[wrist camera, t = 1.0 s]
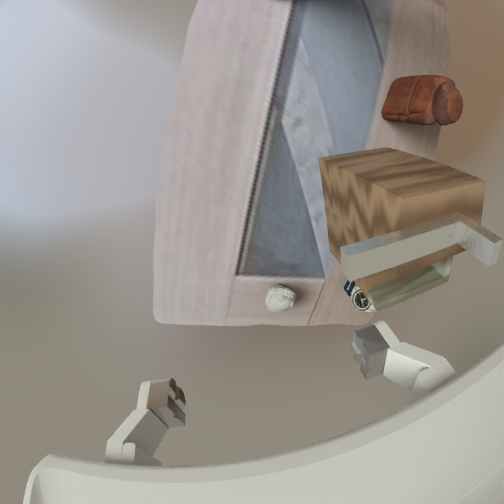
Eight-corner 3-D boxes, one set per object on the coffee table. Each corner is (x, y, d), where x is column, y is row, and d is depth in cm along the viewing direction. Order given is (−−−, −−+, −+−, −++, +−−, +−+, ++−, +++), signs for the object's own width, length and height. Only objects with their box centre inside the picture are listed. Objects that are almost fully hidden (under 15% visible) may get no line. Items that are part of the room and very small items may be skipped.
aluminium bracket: (340, 247, 27) (379, 292, 20) (458, 212, 27) (502, 239, 20) (341, 271, 28) (376, 319, 21) (456, 233, 28) (497, 262, 21)
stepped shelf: (318, 158, 48) (403, 199, 25) (387, 147, 48) (484, 180, 25) (329, 250, 57) (391, 332, 35) (390, 233, 58) (464, 296, 35)
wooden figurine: (397, 130, 47) (459, 144, 31) (375, 115, 45) (437, 122, 29) (414, 87, 42) (475, 89, 26) (393, 70, 40) (455, 65, 24)
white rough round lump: (296, 282, 60) (305, 301, 54) (277, 304, 62) (284, 325, 56) (275, 271, 58) (283, 289, 52) (256, 294, 60) (261, 314, 54)
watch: (346, 267, 60) (367, 295, 51) (372, 272, 62) (395, 298, 52) (336, 287, 63) (355, 317, 53) (362, 291, 64) (383, 318, 55)
